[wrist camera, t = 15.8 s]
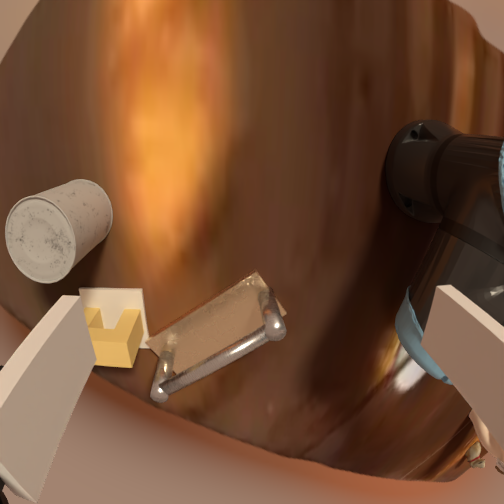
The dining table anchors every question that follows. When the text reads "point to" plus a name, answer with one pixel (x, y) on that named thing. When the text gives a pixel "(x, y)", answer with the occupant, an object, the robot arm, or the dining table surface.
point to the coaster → (115, 305)
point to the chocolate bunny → (475, 456)
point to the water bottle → (488, 440)
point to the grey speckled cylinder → (57, 229)
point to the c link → (115, 337)
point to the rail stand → (215, 334)
